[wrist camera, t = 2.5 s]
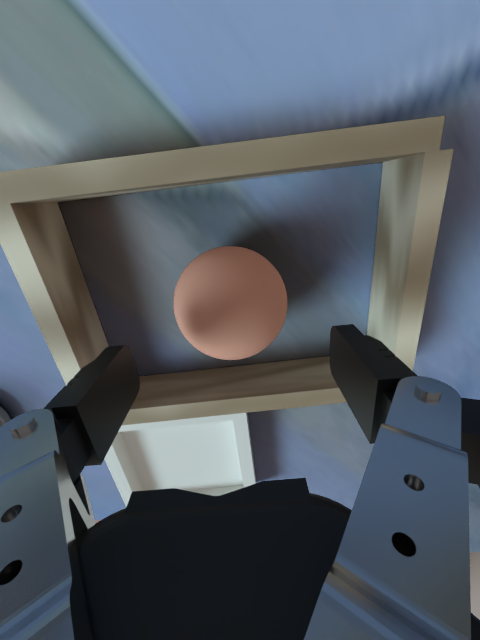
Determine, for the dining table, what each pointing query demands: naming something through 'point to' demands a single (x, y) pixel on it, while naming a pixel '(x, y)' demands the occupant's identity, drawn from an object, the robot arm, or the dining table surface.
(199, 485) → the dish
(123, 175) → the beige rectangular frame
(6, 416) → the pocket watch
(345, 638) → the robot arm
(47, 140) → the dining table surface
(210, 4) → the dining table surface
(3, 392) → the dining table surface
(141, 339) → the dining table surface
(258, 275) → the ball
